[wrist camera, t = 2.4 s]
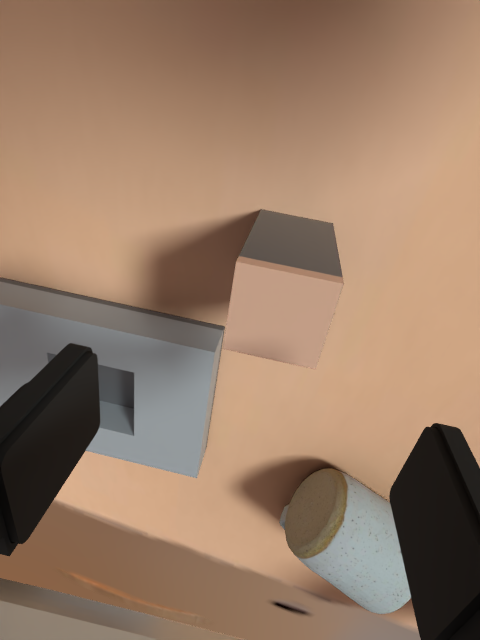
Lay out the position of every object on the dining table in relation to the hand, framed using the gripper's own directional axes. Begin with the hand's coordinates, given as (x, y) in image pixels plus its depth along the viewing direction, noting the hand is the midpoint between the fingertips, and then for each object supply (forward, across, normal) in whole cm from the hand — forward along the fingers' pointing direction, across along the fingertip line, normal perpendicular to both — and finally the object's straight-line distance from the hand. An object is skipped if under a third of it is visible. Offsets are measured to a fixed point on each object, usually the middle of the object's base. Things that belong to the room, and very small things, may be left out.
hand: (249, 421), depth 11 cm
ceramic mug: (+14, -9, +20) cm, 26 cm away
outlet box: (+13, +10, +11) cm, 20 cm away
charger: (+13, 0, -1) cm, 13 cm away
